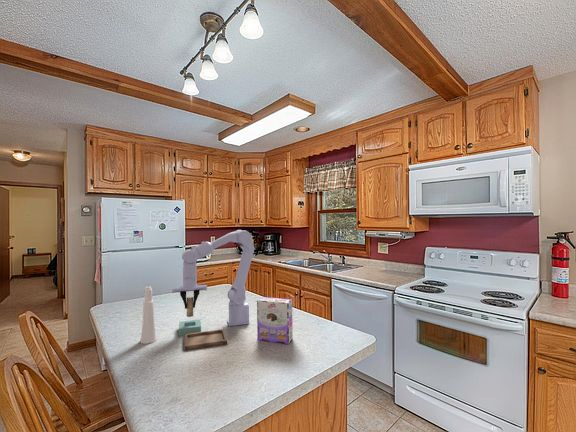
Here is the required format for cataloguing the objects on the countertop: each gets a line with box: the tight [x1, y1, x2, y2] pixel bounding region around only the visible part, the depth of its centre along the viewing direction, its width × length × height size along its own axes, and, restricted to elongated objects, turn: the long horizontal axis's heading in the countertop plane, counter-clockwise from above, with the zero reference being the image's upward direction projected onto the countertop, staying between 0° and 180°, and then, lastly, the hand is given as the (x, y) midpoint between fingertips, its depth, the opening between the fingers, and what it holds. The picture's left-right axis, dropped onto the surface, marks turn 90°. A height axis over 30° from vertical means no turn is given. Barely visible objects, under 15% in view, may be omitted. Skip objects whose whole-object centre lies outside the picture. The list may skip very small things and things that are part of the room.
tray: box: [184, 328, 229, 351], centre depth 115 cm, size 16×12×2 cm
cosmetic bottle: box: [139, 285, 157, 345], centre depth 115 cm, size 6×6×22 cm
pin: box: [186, 296, 194, 318], centre depth 125 cm, size 3×3×8 cm
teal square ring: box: [178, 318, 202, 337], centre depth 125 cm, size 9×9×3 cm
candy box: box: [256, 296, 294, 345], centre depth 117 cm, size 14×6×16 cm, turn 71°
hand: (190, 307), depth 125 cm, fingers closed on pin, 3 cm apart
